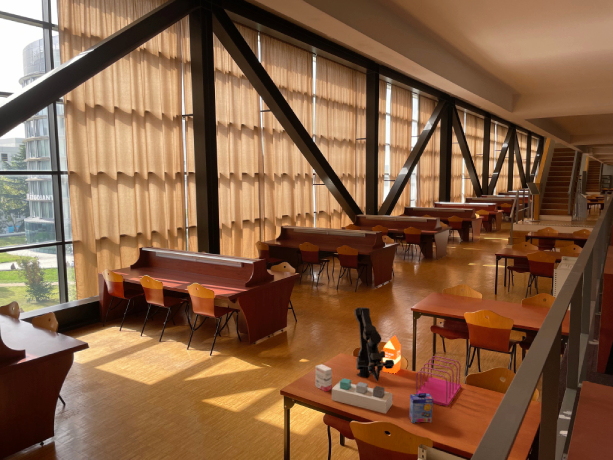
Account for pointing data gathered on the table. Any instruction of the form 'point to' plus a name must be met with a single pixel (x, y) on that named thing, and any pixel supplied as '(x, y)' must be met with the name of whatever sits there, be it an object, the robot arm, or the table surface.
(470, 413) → the table surface
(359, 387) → the slate key
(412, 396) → the ink cartridge box
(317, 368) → the ink box
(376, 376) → the robot arm
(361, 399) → the keypad
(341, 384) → the teal key
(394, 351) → the orange juice
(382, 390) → the charcoal key
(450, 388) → the file sorter
